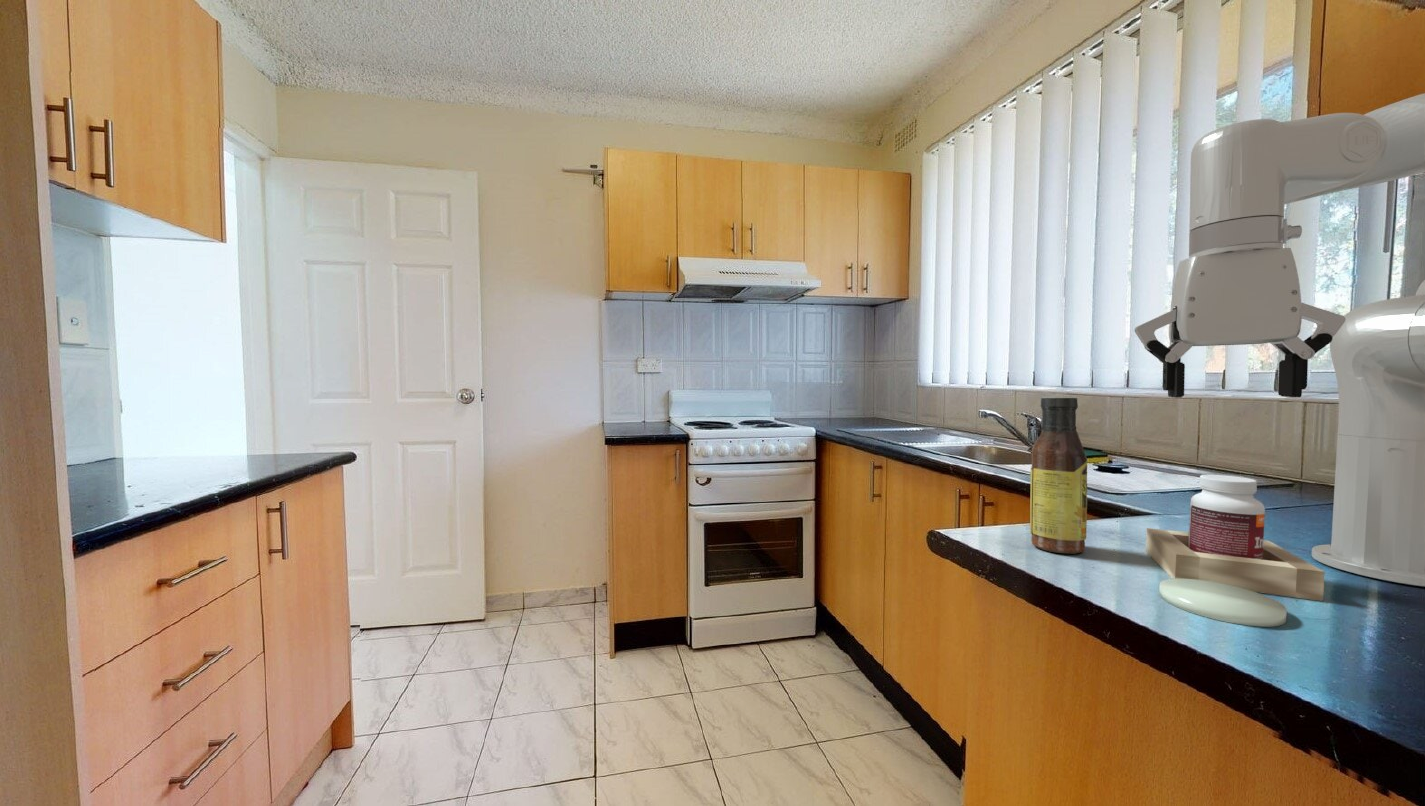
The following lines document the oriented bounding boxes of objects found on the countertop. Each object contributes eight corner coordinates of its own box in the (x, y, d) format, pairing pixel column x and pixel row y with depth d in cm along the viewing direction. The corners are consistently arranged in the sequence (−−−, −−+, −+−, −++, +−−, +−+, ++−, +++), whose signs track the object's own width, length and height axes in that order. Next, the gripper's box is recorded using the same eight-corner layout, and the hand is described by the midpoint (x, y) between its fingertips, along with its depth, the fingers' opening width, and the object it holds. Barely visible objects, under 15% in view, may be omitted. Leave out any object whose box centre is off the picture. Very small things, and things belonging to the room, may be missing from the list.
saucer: (1259, 597, 55) (1260, 587, 54) (1307, 634, 46) (1308, 623, 46) (1148, 582, 59) (1148, 573, 59) (1175, 614, 51) (1175, 603, 50)
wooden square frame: (1267, 565, 64) (1268, 540, 64) (1323, 601, 54) (1324, 571, 54) (1145, 551, 69) (1146, 528, 69) (1174, 581, 59) (1176, 554, 59)
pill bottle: (1271, 587, 57) (1276, 485, 57) (1194, 576, 60) (1199, 479, 60) (1250, 570, 63) (1255, 476, 62) (1181, 560, 66) (1185, 471, 65)
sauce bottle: (1095, 557, 67) (1101, 398, 66) (1040, 554, 68) (1045, 397, 67) (1071, 542, 73) (1076, 396, 72) (1021, 539, 74) (1025, 395, 73)
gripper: (1324, 239, 59) (1319, 395, 60) (1129, 258, 67) (1127, 396, 67) (1368, 222, 52) (1362, 398, 53) (1145, 245, 60) (1143, 398, 61)
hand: (1230, 396), depth 60 cm, fingers open, 9 cm apart
